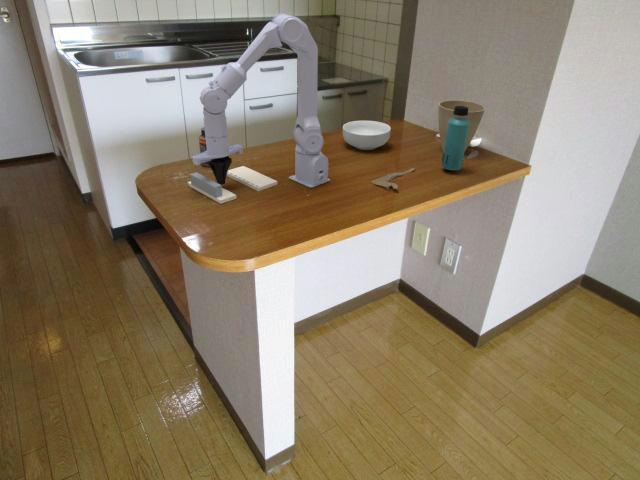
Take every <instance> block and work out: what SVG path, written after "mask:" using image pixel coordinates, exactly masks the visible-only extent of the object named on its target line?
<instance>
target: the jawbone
mask: <svg viewBox="0 0 640 480" xmlns="http://www.w3.org/2000/svg"><path fill="white" fill-rule="evenodd" d="M415 171H416V168H414V167H413V168H409V169H408V170H405V171H401V172H393V173H389V174H386V175H383V176H381V177H379V178H377V179H372V180H371V182H370V184H371V185H374V186H380V187H384V188H385V189H386V191H390V187H392V188H393V190H394V189H395V190H398V189H399V187H398V184H397V183H395V182H390V181H392V180H393V179H396V178H399V177H401V176H404V175H407V174H410V173H412V172H415Z"/></svg>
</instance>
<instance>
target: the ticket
mask: <svg viewBox="0 0 640 480" xmlns="http://www.w3.org/2000/svg"><path fill="white" fill-rule="evenodd" d="M226 177H229V178H231V179H232V180H235V181H237V182H239V183H240V184H243V185H245V186H246V187H248V188H251V189H253V190H255V191H256V192H260V191H263V190H266V189H269V188H271V187H274V186H277V185H278V181H277V180H275V179H273V178H271V177H269V176H266V175H264V174H262V173H260V172H258V171H256V170H254V169H251V168H249V167H247V166H245V165H242V166H238V167H234V168H232V169H228V172H227V175H226Z"/></svg>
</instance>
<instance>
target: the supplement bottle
mask: <svg viewBox="0 0 640 480" xmlns="http://www.w3.org/2000/svg"><path fill="white" fill-rule="evenodd" d="M200 131H201V132H200V133H201V134H200V135H199V136H198V143H199V154H200V153H202V152H204V151H206V150H207V146H206V137H205V128H204V127H201V129H200ZM200 165H202V166H203V167H209V168H210V166H209V165H208V163H207V162H204V163H201V164H200Z"/></svg>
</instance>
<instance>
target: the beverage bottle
mask: <svg viewBox="0 0 640 480" xmlns="http://www.w3.org/2000/svg"><path fill="white" fill-rule="evenodd" d="M453 114H455V115H458V116H467V115H468V107H465V106H456V107H455V109H454V112H453ZM469 125H470V122H469V121H468V120H467V119H466V118H464V117H453V118H451V119H450V120H449V121H448V128H447V133H446V138H445V139H446V140H445V146H444V152H443V151H442V156H441V163H440V164H441V168H443V169H446V170H450V171H460V170H461V169H462V167H463V163H464V159H465V157H464V156H465V154H466V153H465V152H466V151H465V147H466V140H467V135H468V130H469Z"/></svg>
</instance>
